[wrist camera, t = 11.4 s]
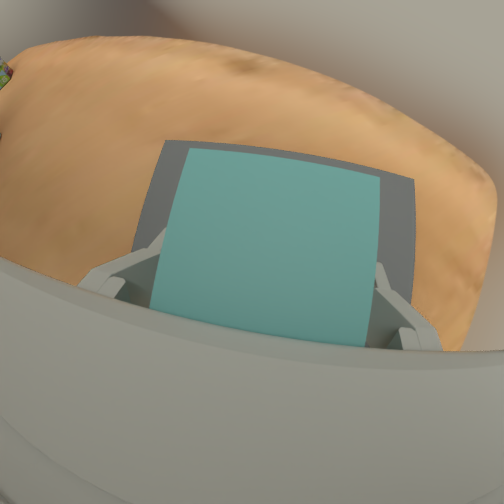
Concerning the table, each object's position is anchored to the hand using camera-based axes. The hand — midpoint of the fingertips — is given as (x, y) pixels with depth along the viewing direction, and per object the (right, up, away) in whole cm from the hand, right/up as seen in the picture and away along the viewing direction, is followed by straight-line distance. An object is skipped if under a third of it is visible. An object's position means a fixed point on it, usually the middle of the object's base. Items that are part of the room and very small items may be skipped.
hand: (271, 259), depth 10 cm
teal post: (0, -2, +6) cm, 6 cm away
